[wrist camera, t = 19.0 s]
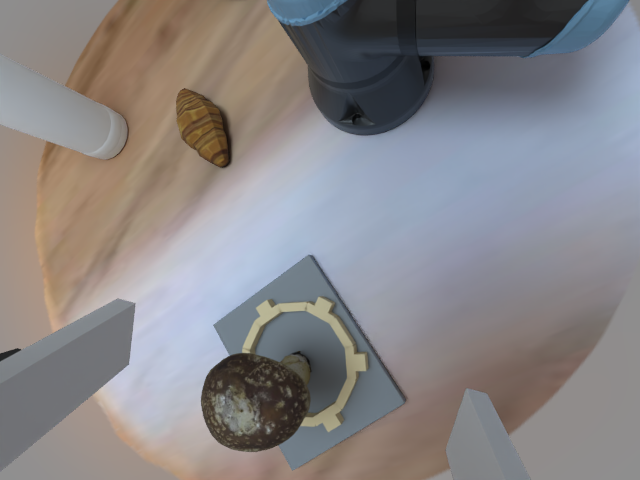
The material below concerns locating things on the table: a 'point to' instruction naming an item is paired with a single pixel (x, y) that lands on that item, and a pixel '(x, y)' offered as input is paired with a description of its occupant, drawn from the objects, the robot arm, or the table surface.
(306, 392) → the mushroom
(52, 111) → the bottle
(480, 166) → the table surface
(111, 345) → the robot arm
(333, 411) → the gear board
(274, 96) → the table surface
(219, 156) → the croissant
